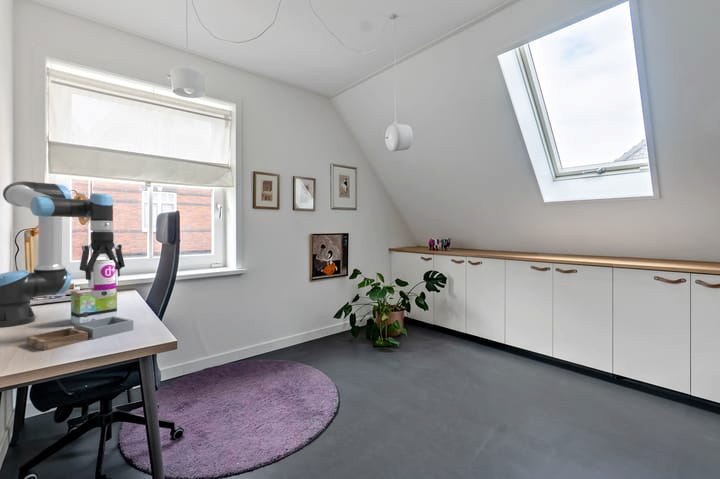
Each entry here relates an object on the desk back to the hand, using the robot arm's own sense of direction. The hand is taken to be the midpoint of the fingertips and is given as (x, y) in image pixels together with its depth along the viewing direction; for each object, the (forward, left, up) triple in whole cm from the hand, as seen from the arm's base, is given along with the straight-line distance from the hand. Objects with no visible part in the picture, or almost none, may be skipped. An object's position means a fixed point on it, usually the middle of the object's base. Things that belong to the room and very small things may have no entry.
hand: (103, 286), depth 144 cm
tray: (0, 0, -19) cm, 19 cm away
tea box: (-24, +8, -19) cm, 32 cm away
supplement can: (0, 0, -4) cm, 4 cm away
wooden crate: (0, -15, -19) cm, 25 cm away
